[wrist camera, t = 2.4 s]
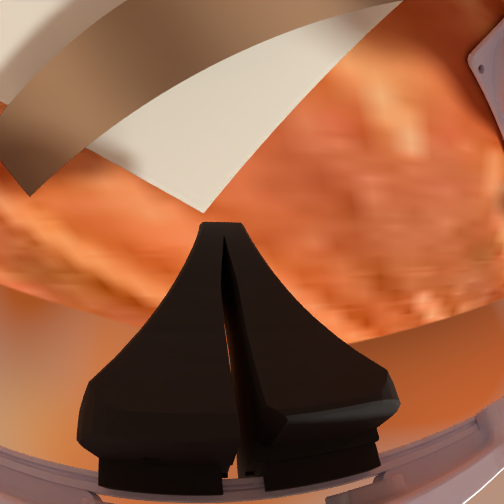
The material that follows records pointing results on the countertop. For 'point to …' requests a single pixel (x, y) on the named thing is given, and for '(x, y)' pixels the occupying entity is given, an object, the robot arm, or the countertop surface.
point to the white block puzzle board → (188, 92)
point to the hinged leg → (135, 70)
